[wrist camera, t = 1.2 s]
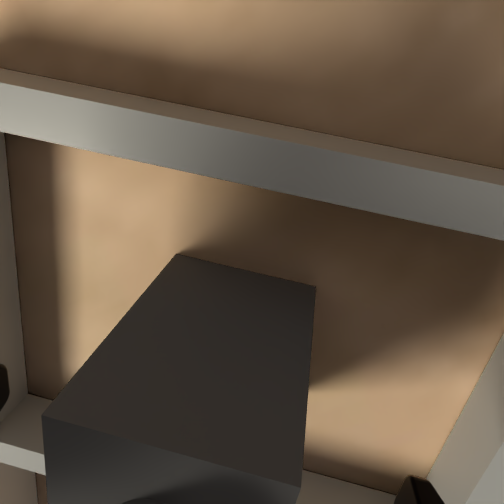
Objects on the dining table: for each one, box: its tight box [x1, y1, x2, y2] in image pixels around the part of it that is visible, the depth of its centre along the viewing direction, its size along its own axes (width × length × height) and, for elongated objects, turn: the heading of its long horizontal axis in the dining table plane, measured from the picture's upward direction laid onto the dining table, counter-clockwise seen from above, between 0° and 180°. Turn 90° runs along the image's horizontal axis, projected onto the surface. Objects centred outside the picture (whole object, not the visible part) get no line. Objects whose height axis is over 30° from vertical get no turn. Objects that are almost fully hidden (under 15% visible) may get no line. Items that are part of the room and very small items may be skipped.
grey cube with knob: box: [41, 254, 316, 504], centre depth 9 cm, size 4×4×8 cm
